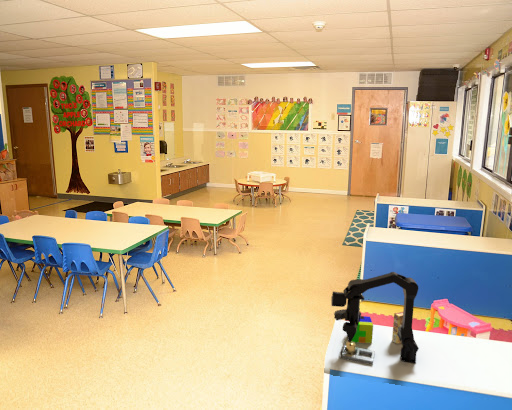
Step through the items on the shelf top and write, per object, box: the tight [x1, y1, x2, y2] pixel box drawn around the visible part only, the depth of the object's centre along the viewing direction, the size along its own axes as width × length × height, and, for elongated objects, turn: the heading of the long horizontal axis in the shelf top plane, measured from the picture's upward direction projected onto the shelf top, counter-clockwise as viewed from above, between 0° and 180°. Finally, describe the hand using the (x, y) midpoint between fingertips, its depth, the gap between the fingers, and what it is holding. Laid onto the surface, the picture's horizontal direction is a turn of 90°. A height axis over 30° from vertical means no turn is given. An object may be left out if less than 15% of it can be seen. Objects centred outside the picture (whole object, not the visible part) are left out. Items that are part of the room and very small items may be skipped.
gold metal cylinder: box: [345, 341, 357, 356], centre depth 206 cm, size 4×4×6 cm
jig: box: [339, 340, 376, 366], centre depth 205 cm, size 15×10×4 cm, turn 69°
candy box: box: [391, 311, 403, 345], centre depth 219 cm, size 9×4×15 cm, turn 112°
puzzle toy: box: [352, 315, 374, 344], centre depth 222 cm, size 10×10×10 cm
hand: (351, 337), depth 205 cm, fingers open, 9 cm apart
